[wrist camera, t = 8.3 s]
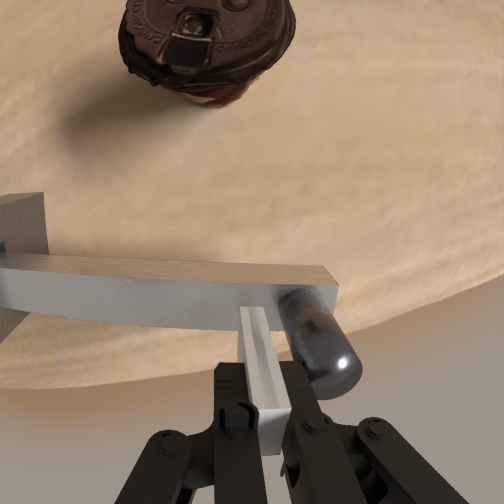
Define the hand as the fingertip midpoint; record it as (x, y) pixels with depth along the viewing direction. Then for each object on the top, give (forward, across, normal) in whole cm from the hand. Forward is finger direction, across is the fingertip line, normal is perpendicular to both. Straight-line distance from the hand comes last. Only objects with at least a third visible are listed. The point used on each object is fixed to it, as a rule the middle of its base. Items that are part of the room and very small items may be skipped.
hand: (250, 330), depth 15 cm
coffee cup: (+13, -3, +15) cm, 20 cm away
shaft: (+5, -8, 0) cm, 9 cm away
